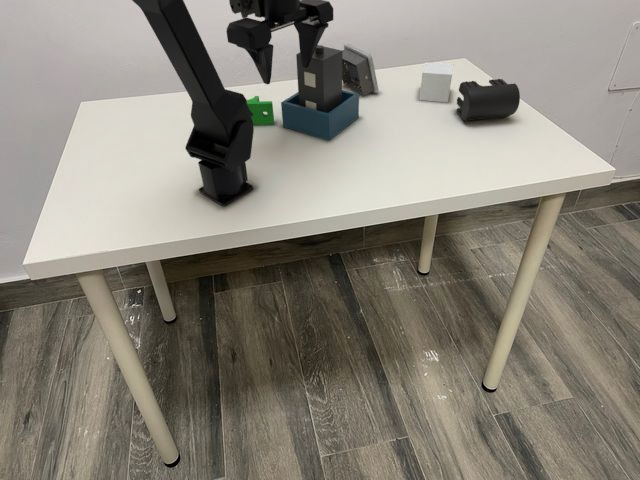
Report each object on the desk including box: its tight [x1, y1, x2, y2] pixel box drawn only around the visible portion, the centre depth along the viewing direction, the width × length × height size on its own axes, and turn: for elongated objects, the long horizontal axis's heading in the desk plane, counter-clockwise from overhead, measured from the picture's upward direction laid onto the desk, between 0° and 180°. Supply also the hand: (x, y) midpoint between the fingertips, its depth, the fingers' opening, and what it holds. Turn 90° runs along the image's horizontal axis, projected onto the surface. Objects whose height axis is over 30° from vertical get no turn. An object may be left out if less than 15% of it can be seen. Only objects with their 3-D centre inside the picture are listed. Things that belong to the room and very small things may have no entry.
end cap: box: [455, 78, 521, 121], centre depth 93 cm, size 10×7×7 cm
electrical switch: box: [341, 43, 380, 97], centre depth 104 cm, size 9×5×9 cm, turn 32°
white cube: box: [418, 61, 454, 103], centre depth 102 cm, size 6×6×6 cm
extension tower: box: [295, 44, 343, 113], centre depth 90 cm, size 6×6×14 cm
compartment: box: [280, 89, 360, 141], centre depth 94 cm, size 11×11×5 cm
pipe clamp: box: [246, 95, 275, 126], centre depth 95 cm, size 11×4×5 cm, turn 89°
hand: (286, 75), depth 81 cm, fingers open, 9 cm apart
